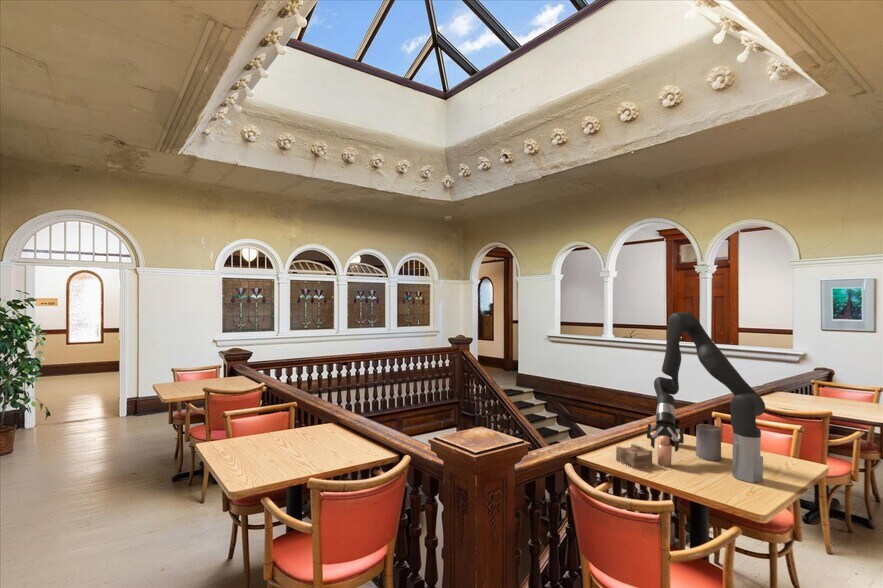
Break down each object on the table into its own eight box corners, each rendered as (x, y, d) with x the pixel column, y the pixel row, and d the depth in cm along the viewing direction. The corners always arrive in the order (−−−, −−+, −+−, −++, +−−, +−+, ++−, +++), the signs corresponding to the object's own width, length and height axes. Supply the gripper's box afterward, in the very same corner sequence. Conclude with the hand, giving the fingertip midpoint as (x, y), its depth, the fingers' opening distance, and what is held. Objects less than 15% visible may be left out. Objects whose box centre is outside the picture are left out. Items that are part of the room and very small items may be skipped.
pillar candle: (710, 453, 211) (710, 420, 211) (726, 461, 201) (726, 426, 201) (691, 454, 210) (691, 421, 210) (705, 461, 200) (705, 427, 200)
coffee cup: (675, 441, 227) (676, 415, 227) (682, 447, 219) (683, 420, 219) (657, 441, 228) (657, 414, 228) (663, 446, 220) (664, 419, 220)
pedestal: (652, 465, 193) (652, 451, 193) (634, 468, 189) (634, 453, 189) (633, 458, 202) (633, 443, 202) (616, 460, 198) (616, 446, 198)
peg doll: (674, 466, 193) (674, 437, 193) (665, 467, 191) (665, 438, 191) (663, 462, 198) (664, 434, 198) (654, 463, 196) (655, 435, 196)
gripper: (647, 409, 206) (646, 441, 195) (683, 413, 199) (683, 447, 189) (648, 418, 210) (646, 450, 200) (683, 422, 204) (683, 456, 194)
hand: (664, 449), depth 195 cm, fingers open, 8 cm apart
